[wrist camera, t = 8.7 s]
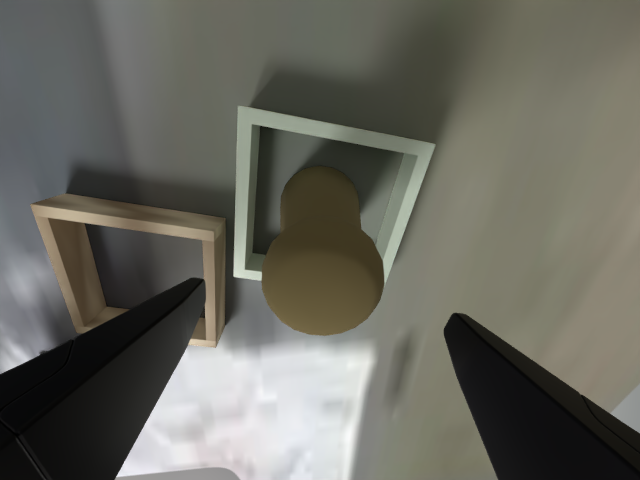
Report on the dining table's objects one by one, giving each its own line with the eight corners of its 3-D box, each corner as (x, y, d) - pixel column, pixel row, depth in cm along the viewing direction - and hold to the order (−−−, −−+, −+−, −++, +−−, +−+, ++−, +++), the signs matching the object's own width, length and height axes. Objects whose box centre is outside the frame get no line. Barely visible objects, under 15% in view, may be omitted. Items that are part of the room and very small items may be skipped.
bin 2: (242, 259, 21) (233, 276, 19) (248, 107, 16) (237, 105, 14) (374, 278, 22) (380, 296, 20) (419, 140, 17) (435, 144, 15)
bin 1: (99, 312, 23) (76, 332, 21) (65, 193, 18) (30, 204, 16) (224, 326, 24) (215, 347, 22) (225, 218, 19) (213, 231, 17)
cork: (276, 167, 18) (225, 231, 8) (360, 164, 18) (417, 225, 8) (284, 242, 20) (254, 361, 10) (357, 240, 20) (397, 356, 10)
